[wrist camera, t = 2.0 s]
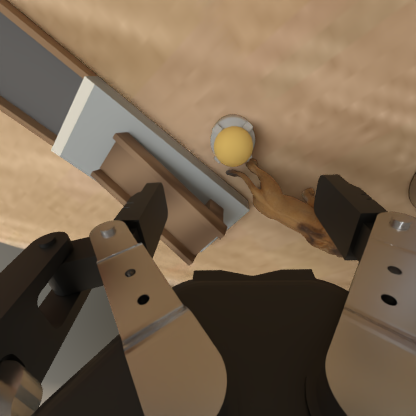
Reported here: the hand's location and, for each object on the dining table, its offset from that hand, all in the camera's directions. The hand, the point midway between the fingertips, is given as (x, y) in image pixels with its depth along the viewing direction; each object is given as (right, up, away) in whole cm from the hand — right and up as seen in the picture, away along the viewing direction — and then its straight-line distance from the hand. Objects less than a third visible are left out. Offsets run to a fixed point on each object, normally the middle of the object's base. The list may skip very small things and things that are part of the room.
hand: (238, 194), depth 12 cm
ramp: (-6, +1, +14) cm, 15 cm away
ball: (+1, +5, +9) cm, 10 cm away
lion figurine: (+8, +2, +15) cm, 18 cm away
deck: (-7, +4, +15) cm, 17 cm away
